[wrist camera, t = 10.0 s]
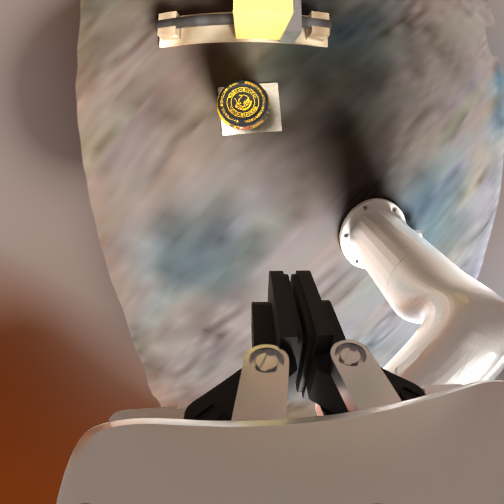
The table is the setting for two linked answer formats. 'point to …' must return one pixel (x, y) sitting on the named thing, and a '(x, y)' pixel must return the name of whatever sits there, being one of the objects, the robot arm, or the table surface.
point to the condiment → (249, 107)
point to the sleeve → (261, 18)
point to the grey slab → (293, 25)
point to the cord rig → (231, 29)
